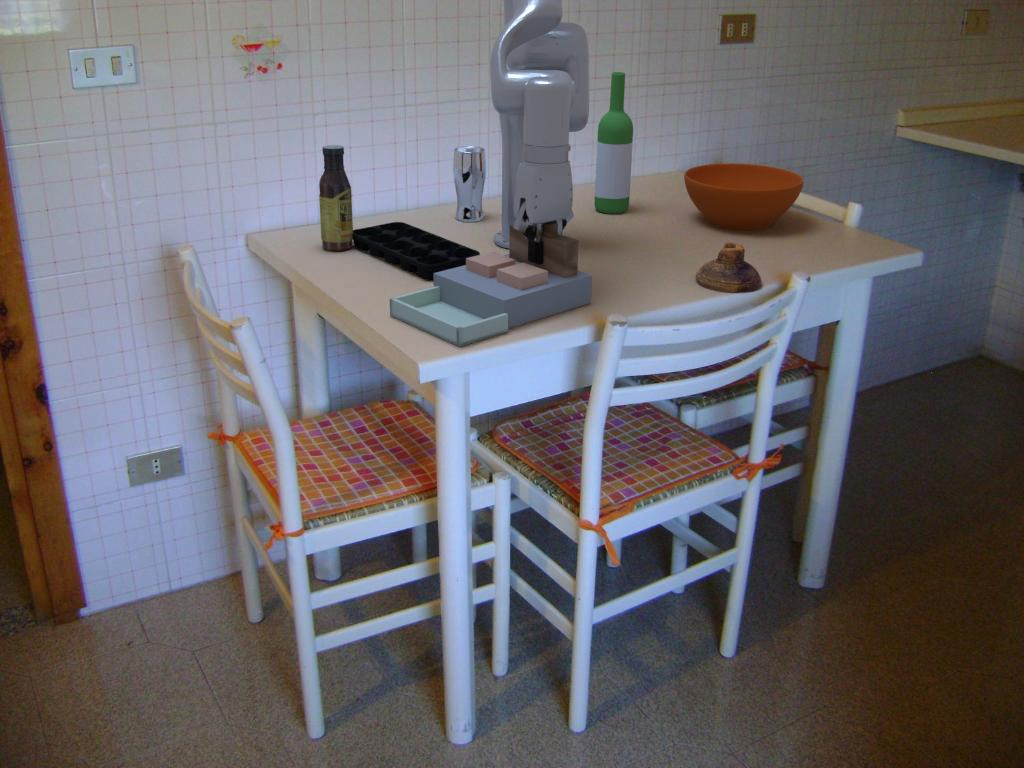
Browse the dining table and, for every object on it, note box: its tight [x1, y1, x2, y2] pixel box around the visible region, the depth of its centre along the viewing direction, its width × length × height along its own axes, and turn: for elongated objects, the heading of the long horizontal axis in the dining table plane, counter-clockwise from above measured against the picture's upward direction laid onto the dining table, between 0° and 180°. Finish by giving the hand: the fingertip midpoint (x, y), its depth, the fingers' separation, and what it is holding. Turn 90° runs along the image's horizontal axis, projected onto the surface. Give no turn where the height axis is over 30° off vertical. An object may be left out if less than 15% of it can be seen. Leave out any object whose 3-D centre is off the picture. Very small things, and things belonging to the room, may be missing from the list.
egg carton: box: [352, 221, 481, 281], centre depth 205 cm, size 18×30×4 cm, turn 51°
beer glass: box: [452, 145, 487, 223], centre depth 229 cm, size 7×7×15 cm
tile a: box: [466, 251, 515, 278], centre depth 182 cm, size 6×6×2 cm
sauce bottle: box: [318, 144, 354, 252], centre depth 207 cm, size 6×6×20 cm
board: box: [433, 253, 593, 330], centre depth 182 cm, size 20×18×5 cm
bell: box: [695, 241, 762, 294], centre depth 193 cm, size 12×12×7 cm
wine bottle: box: [594, 71, 634, 215], centre depth 233 cm, size 8×8×30 cm
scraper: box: [508, 222, 580, 278], centre depth 183 cm, size 3×14×8 cm, turn 42°
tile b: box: [497, 263, 548, 290], centre depth 177 cm, size 6×6×2 cm
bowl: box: [683, 163, 805, 231], centre depth 230 cm, size 25×25×10 cm
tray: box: [389, 286, 509, 348], centre depth 172 cm, size 10×18×3 cm, turn 42°
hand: (543, 259), depth 184 cm, fingers closed on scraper, 3 cm apart
